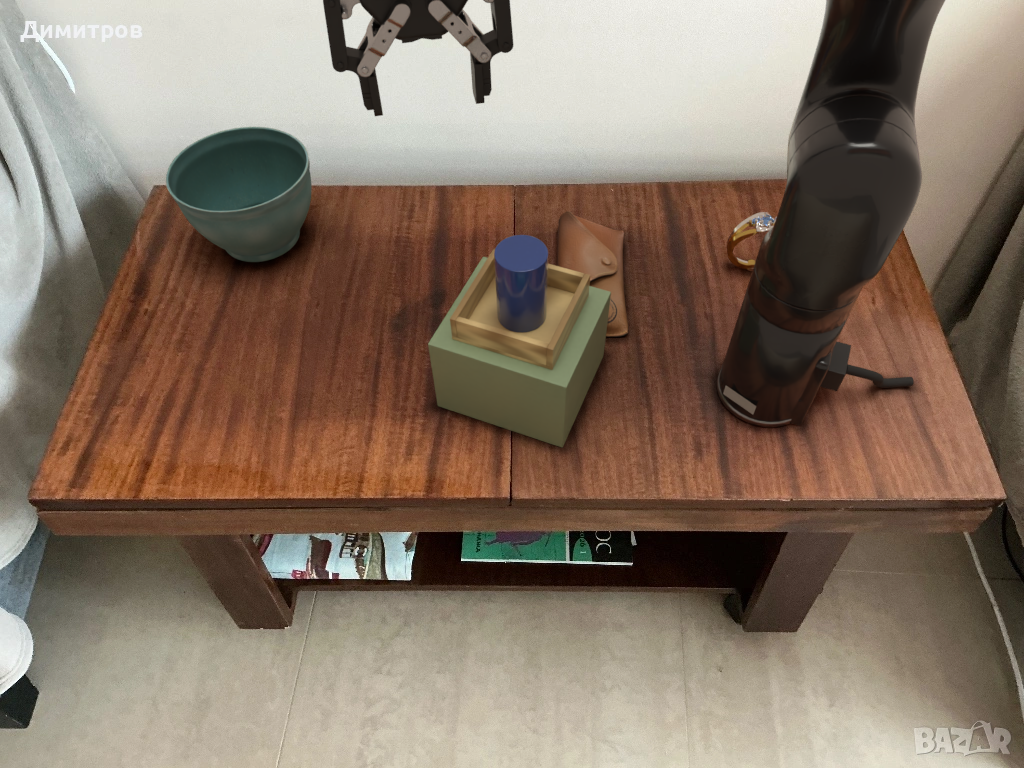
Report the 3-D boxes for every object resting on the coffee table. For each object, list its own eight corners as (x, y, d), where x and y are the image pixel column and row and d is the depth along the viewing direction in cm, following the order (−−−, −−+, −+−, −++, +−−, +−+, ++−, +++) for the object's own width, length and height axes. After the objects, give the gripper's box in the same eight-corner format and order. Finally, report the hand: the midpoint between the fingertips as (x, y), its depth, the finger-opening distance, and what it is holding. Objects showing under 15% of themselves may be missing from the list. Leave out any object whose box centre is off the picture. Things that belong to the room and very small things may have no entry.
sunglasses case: (633, 335, 86) (606, 298, 82) (577, 355, 89) (548, 320, 85) (624, 227, 97) (600, 190, 93) (575, 248, 100) (549, 213, 96)
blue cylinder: (553, 304, 76) (556, 242, 70) (535, 338, 73) (536, 277, 67) (508, 291, 77) (506, 229, 71) (489, 324, 74) (485, 263, 68)
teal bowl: (241, 186, 104) (215, 115, 96) (349, 211, 101) (332, 139, 92) (171, 266, 95) (136, 194, 87) (287, 296, 92) (262, 224, 83)
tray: (588, 296, 77) (590, 274, 75) (552, 370, 71) (553, 349, 69) (494, 269, 80) (493, 248, 77) (452, 339, 74) (449, 318, 72)
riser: (603, 355, 85) (611, 291, 77) (562, 448, 78) (566, 387, 70) (486, 320, 89) (483, 256, 81) (437, 406, 81) (427, 344, 74)
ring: (721, 276, 92) (736, 224, 86) (719, 258, 94) (733, 206, 88) (781, 279, 92) (800, 227, 86) (777, 260, 94) (795, 208, 88)
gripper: (298, -77, 50) (346, 141, 62) (517, -99, 51) (520, 119, 64) (296, -121, 54) (341, 91, 67) (497, -140, 56) (504, 71, 68)
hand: (429, 104), depth 65 cm, fingers open, 8 cm apart
